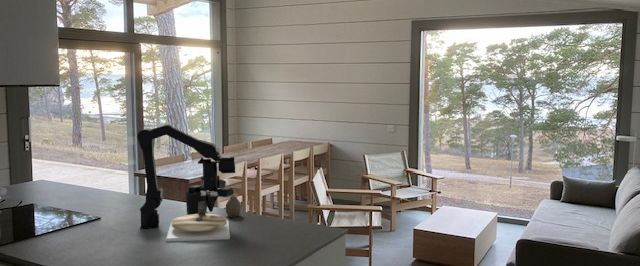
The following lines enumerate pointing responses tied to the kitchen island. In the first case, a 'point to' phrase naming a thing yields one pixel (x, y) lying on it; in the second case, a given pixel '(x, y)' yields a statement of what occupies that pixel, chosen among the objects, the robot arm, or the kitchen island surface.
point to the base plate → (198, 234)
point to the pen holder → (193, 202)
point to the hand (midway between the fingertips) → (211, 211)
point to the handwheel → (199, 220)
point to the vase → (233, 207)
